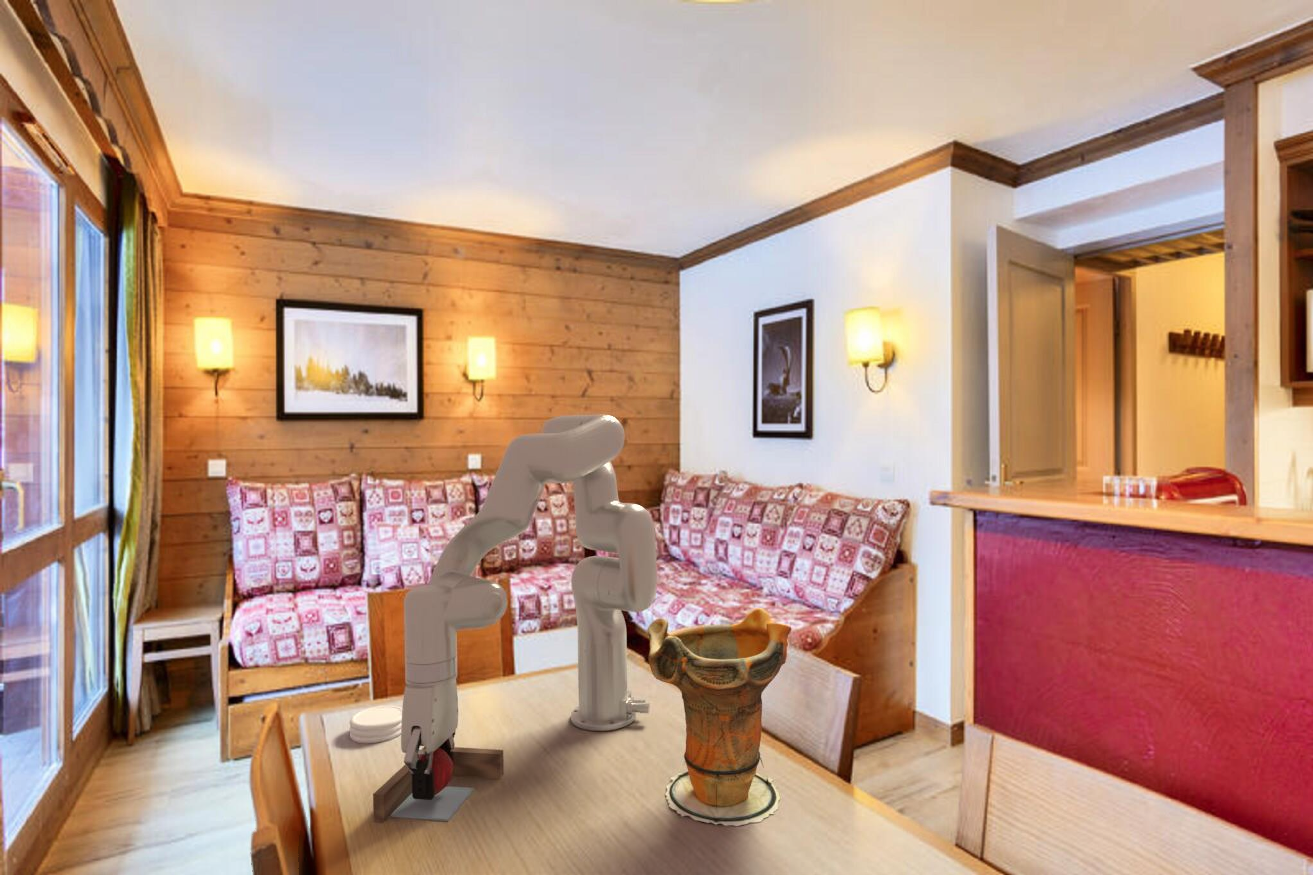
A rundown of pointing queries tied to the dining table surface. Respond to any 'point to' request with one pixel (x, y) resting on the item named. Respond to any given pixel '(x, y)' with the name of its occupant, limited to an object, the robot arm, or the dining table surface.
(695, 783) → the decorative vase
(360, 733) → the coaster
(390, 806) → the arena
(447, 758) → the onion
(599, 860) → the dining table surface
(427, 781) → the robot arm
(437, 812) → the pad
